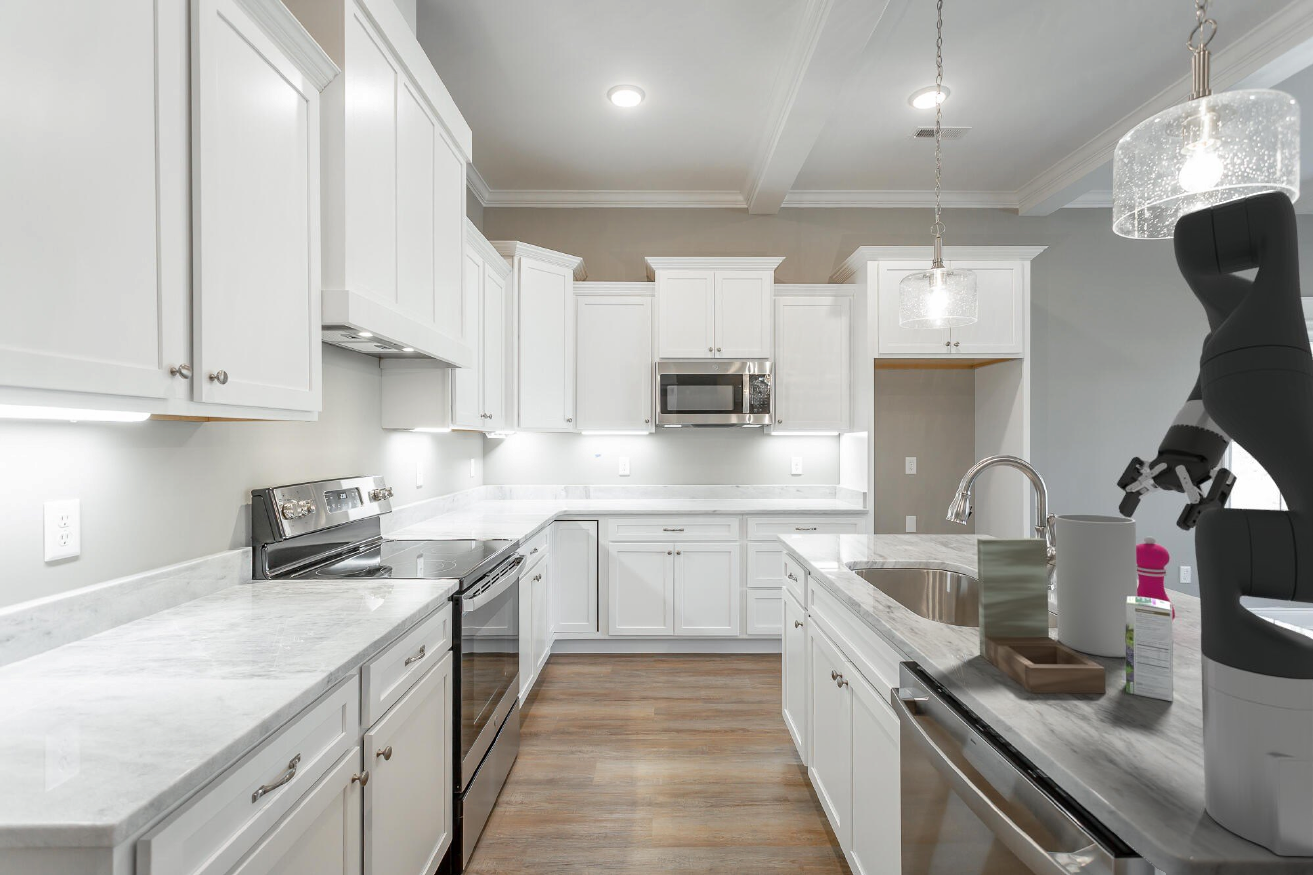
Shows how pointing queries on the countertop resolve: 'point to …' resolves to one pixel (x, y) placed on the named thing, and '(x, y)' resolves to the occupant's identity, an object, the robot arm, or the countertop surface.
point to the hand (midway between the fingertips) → (1152, 521)
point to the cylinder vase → (1094, 581)
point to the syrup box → (1149, 648)
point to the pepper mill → (1152, 570)
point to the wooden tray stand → (1026, 620)
